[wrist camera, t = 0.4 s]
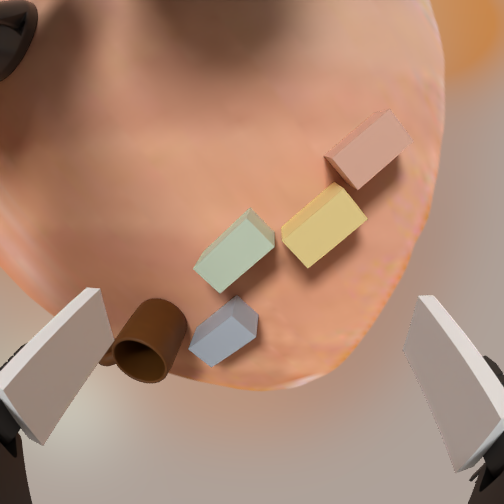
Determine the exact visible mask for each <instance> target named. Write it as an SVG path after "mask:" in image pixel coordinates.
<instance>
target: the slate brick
mask: <svg viewBox="0 0 504 504" xmlns="http://www.w3.org/2000/svg"><path fill="white" fill-rule="evenodd" d="M257 324H258V314H257V313H256V312H255V311H254V310H253V309H252V308H251V307H250V306H248V305H247V304H246V303H245V302H244V301H243V300H242V299H241V298H240V297H239V296H238V295H236V296H235V297H234V298H232V299H231V300H230V301H229V302H227V303H226V304H225V305H224V306H222V307H221V308H220V309H219V310H218V311H216V312H215V313H214V314H213V315H211V316H210V317H209V318H208V319H206V320H205V321H204V322H203V323H201V324H200V325H199V326H198V327H197V328H196V330H195V333H194V336H193V338H192V341H191V343H190V346H189V348H188V349H189V350H190V351H191V352H192V353H194V354H195V355H196V356H197V357H199V358H200V359H201V360H202V361H204V362H205V363H206V364H208V365H209V366H210V367H213V366H214V365H216V364H218V363H219V362H221V361H222V360H224V359H225V358H227V357H228V356H230V355H231V354H232V353H234V352H235V351H237V350H238V349H240V348H241V347H243V346H244V345H246V344H247V343H248V342H250V341H251V340H253V339H254V338H256V334H257Z"/></svg>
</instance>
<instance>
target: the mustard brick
mask: <svg viewBox="0 0 504 504" xmlns="http://www.w3.org/2000/svg"><path fill="white" fill-rule="evenodd" d="M366 220H367V217H366V216H365V215H364V213H363V212H362V211H361V210H360V208H359V207H358V206H357V204H356V203H355V202H354V201H353V199H352V198H351V197H350V196H349V194H348V193H347V192H346V191H345V189H344V188H342V187H341V186H340V185H338V184H337V183H335V182H333V183H332V184H331V185H330V186H328V187H327V188H326V189H325V190H324V191H323V192H321V193H320V194H319V195H318V196H317V197H316V198H314V199H313V200H312V201H311V202H310V203H309V204H307V205H306V206H305V207H304V208H303V209H302V210H301V211H299V212H298V213H297V214H296V215H295V216H294V217H292V218H291V219H290V220H289V221H288V222H287V223H285V224H284V225H283V226H282V227H281V232H282V242H283V243H284V244H285V245H286V246H287V247H288V248H289V249H290V250H291V251H292V252H293V253H294V254H295V255H296V256H297V258H298V259H299V260H300V261H301V262H302V263H303V264H304V265H305V266H306V267H307V268H309V267H310V266H312V265H313V264H314V263H315V262H317V261H318V260H319V259H320V258H322V257H323V256H324V255H325V254H326V253H328V252H329V251H330V250H331V249H333V248H334V247H335V246H336V245H337V244H339V243H340V242H341V241H342V240H344V239H345V238H346V237H347V236H348V235H350V234H351V233H352V232H353V231H354V230H355V229H357V228H358V227H359V226H360V225H361V224H363V223H364V222H365V221H366Z"/></svg>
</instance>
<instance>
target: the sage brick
mask: <svg viewBox="0 0 504 504" xmlns="http://www.w3.org/2000/svg"><path fill="white" fill-rule="evenodd" d="M274 247H275V232H274V231H273V230H272V229H271V228H270V227H269V226H268V225H267V224H266V223H265V222H264V221H263V220H262V219H261V218H260V217H259V216H258V215H257V214H256V213H255V212H254V211H253V210H252V208H251V207H250V208H249V209H248V210H247V211H246V212H245V213H244V214H243V215H241V216H240V217H239V218H238V219H237V220H236V221H235V222H234V223H233V224H232V225H231V226H230V227H229V228H228V229H227V230H226V231H224V232H223V233H222V234H221V235H220V236H219V237H218V238H217V239H216V240H215V241H214V242H213V243H212V244H211V245H210V246H209V247H208V248H207V249H206V250H205V251H204V252H203V253H202V254H201V256H200V258H199V259H198V261H197V263H196V264H195V266H194V268H193V269H194V270H195V271H196V272H197V273H198V274H199V275H200V276H201V277H202V278H203V279H204V280H206V281H207V282H208V283H209V284H210V285H211V286H212V287H213V288H214V289H215V290H216V291H218V292H219V293H221V292H222V291H224V290H225V289H226V288H227V287H228V286H229V285H231V284H232V283H233V282H234V281H235V280H236V279H238V278H239V277H240V276H241V275H242V274H243V273H245V272H246V271H247V270H248V269H249V268H250V267H252V266H253V265H254V264H255V263H256V262H257V261H259V260H260V259H261V258H262V257H263V256H264V255H266V254H267V253H268V252H269V251H270V250H271V249H273V248H274Z"/></svg>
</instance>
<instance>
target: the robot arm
mask: <svg viewBox="0 0 504 504" xmlns="http://www.w3.org/2000/svg"><path fill="white" fill-rule="evenodd" d="M36 23H37V9H36V7H35V5H34V4H33V3H31V2H28V1H25V0H9V1H1V2H0V81H1V80H3V79H5V78H6V77H7V76H8V75H9V74H10V73H11V72H12V71H13V70H14V69H15V68H16V66H17V65H18V64H19V62H20V61H21V59H22V58H23V56H24V54H25V52H26V51H27V49H28V47H29V44H30V42H31V40H32V37H33V34H34V31H35V28H36ZM114 341H115V340H114V337H113V334H112V330H111V327H110V323H109V320H108V316H107V313H106V309H105V305H104V301H103V298H102V294H101V289H100V288H89V287H87V288H86V289H84V290H83V291H82V292H81V293H80V294H79V295H78V296H77V297H75V298H74V299H73V300H72V301H71V302H70V303H69V304H68V305H67V306H66V307H64V308H63V309H62V310H61V311H60V312H59V313H58V314H57V315H56V316H55V317H54V318H53V319H52V320H51V321H49V322H48V323H47V324H46V325H45V326H44V327H43V328H42V329H41V330H40V331H39V332H38V333H37V334H36V335H35V336H34V337H33V338H32V339H31V340H30V341H29V342H28V343H26V344H24V345H23V346H21V347H20V348H19V349H18V350H17V351H16V352H15V353H14V356H11V357H10V358H9V359H8V362H6V363H5V364H4V365H3V366H2V367H1V368H0V504H32V501H31V496H30V492H29V487H28V482H27V476H26V470H25V463H24V456H23V448H22V440H21V436H20V435H19V434H18V431H19V430H20V429H22V430H23V431H24V433H25V434H26V435H27V436H28V438H29V439H31V440H33V441H35V442H37V443H39V444H40V445H44V444H45V442H46V440H47V439H48V437H49V436H50V434H51V433H52V431H53V430H54V428H55V426H56V425H57V423H58V422H59V420H60V418H61V417H62V416H63V414H64V412H65V411H66V409H67V408H68V406H69V405H70V403H71V402H72V400H73V399H74V397H75V396H76V394H77V393H78V391H79V390H80V389H81V387H82V386H83V384H84V383H85V381H86V380H87V378H88V377H89V375H90V374H91V372H92V371H93V370H94V368H95V367H96V366H97V364H98V363H99V361H100V360H101V359H102V357H103V356H104V354H105V353H106V352H107V350H108V349H109V347H110V346H111V345H112V343H113V342H114ZM403 352H404V354H405V356H406V358H407V360H408V362H409V364H410V366H411V368H412V370H413V372H414V374H415V376H416V379H417V381H418V383H419V385H420V387H421V389H422V391H423V394H424V396H425V398H426V401H427V403H428V405H429V407H430V409H431V412H432V414H433V417H434V419H435V421H436V424H437V426H438V429H439V431H440V434H441V436H442V439H443V441H444V444H445V446H446V449H447V451H448V454H449V457H450V460H451V462H452V465H453V468H454V471H455V473H457V472H460V471H463V470H466V469H468V468H471V467H473V466H474V465H475V464H476V463H477V462H478V461H479V460H480V459H481V458H482V457H484V460H485V463H484V464H483V466H482V467H480V468H479V470H477V471H476V472H475V473H474V474H473V475H472V477H471V479H470V480H469V481H473V480H474V479H475V478H476V477H477V476H478V475H479V476H478V478H477V481H476V482H475V483H476V484H475V487H474V489H473V492H472V495H471V497H470V500H469V502H468V504H504V375H503V373H502V371H501V370H500V368H499V367H498V366H497V364H496V363H495V362H493V361H492V360H491V359H489V358H488V357H487V356H481V354H480V353H479V351H478V350H477V349H476V348H475V346H474V345H473V343H472V342H471V341H470V340H469V338H468V337H467V336H466V334H465V333H464V332H463V331H462V329H461V328H460V327H459V326H458V324H457V323H456V322H455V321H454V319H453V318H452V317H451V316H450V314H449V313H448V312H447V311H446V310H445V309H444V307H443V306H442V305H441V304H440V302H439V301H438V300H437V299H436V298H435V297H434V296H433V295H427V296H418V298H417V302H416V306H415V310H414V314H413V317H412V321H411V324H410V328H409V331H408V335H407V338H406V341H405V344H404V347H403Z"/></svg>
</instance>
